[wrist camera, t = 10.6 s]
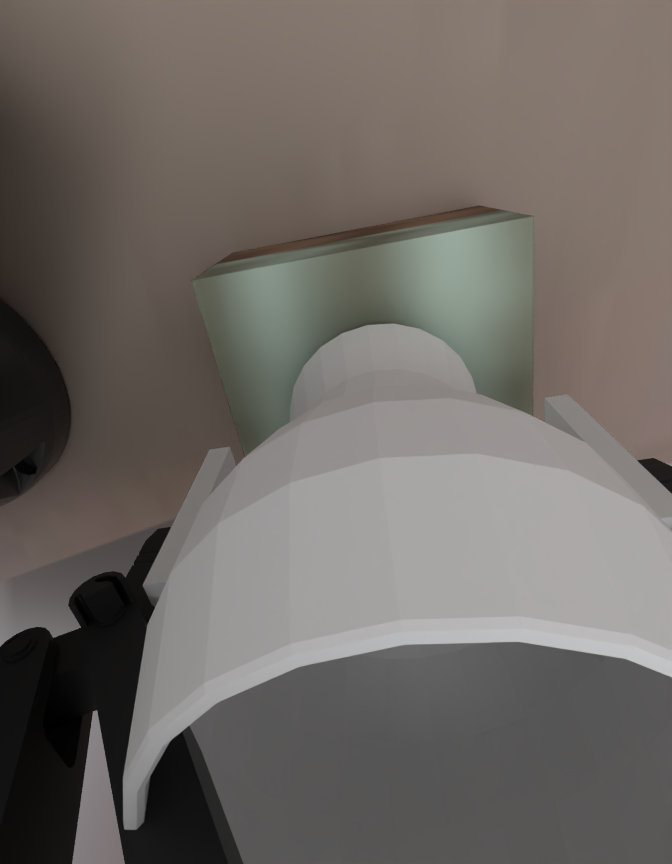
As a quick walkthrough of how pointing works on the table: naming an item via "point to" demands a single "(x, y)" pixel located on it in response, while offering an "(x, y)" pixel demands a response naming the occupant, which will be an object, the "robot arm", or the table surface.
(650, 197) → the table surface
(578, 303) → the table surface
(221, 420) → the table surface
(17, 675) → the robot arm
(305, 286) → the tower base
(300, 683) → the cup
